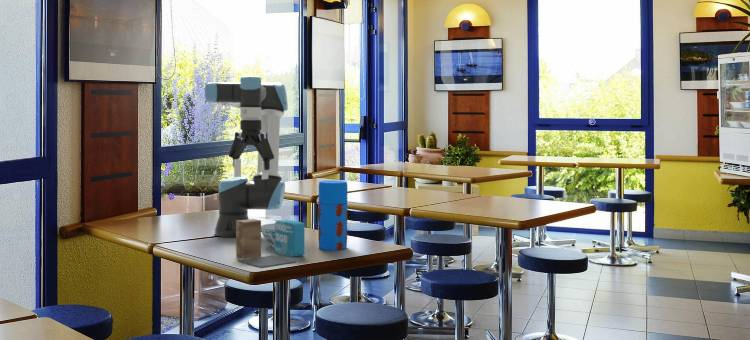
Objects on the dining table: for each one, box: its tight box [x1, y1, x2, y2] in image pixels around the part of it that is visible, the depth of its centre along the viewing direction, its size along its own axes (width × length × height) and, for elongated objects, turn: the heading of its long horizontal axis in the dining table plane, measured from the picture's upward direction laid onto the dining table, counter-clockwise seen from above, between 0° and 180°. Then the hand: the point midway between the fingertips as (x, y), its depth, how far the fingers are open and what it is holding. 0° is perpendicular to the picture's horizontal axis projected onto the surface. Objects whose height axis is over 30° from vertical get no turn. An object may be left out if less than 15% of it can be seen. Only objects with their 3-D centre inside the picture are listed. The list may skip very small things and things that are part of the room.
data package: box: [274, 219, 306, 258], centre depth 274 cm, size 12×4×12 cm, turn 43°
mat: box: [237, 254, 297, 269], centre depth 261 cm, size 14×14×1 cm
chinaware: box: [261, 222, 275, 248], centre depth 291 cm, size 15×15×8 cm
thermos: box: [318, 180, 348, 252], centre depth 287 cm, size 11×11×25 cm
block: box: [235, 218, 262, 260], centre depth 268 cm, size 5×7×13 cm
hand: (251, 178), depth 278 cm, fingers open, 13 cm apart
